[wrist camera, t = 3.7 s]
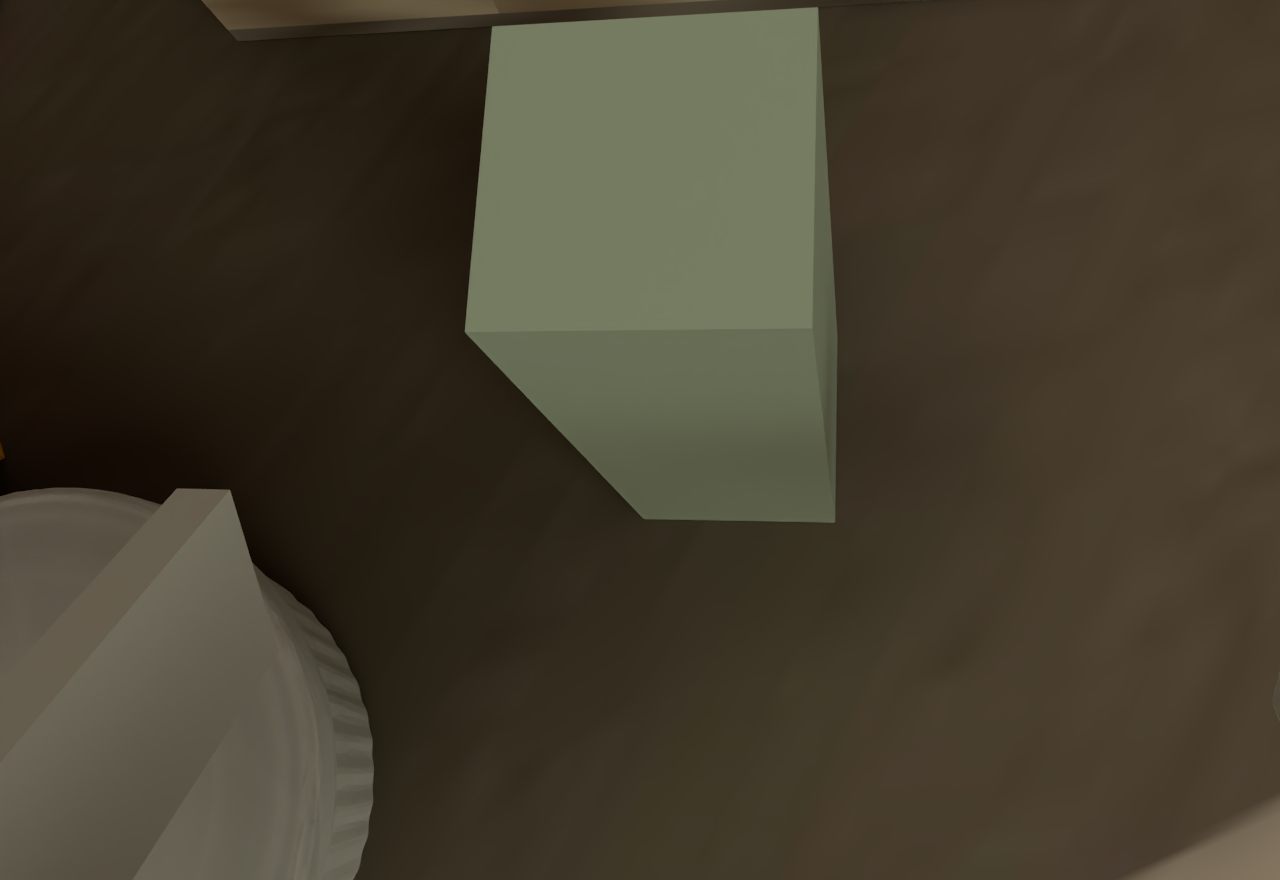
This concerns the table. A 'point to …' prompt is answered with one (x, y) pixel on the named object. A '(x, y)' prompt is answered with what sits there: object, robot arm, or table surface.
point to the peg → (666, 255)
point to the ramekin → (259, 737)
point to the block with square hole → (460, 13)
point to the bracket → (1, 453)
